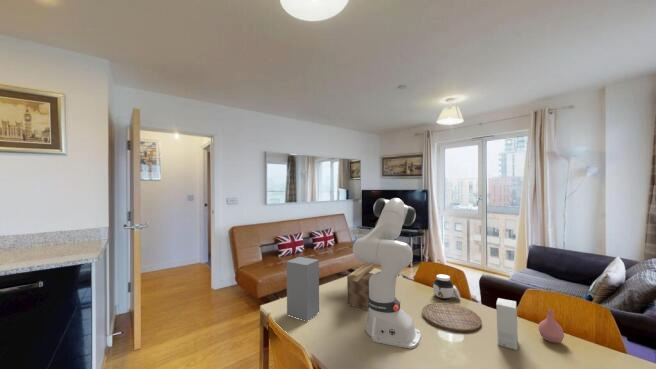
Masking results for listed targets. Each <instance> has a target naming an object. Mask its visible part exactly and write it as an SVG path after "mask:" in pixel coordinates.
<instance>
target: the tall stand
mask: <svg viewBox="0 0 656 369" xmlns="http://www.w3.org/2000/svg"><path fill="white" fill-rule="evenodd" d="M319 270H320V260H319V259H316V258H308V257H302V256H297V257H296V258H295V257H294V258H293V259H289V260H287V261H286V316H287V315H290V316H293V317H296V318H299V319H302V320H305V321H308V320H310V319H311V318H312V317H313V316H314V315H316V314H317V313H318V312H319V313H320V271H319ZM316 316H317V315H316ZM312 319H313V318H312ZM312 319H311V320H312ZM302 320H301V321H302ZM311 320H310V321H311ZM305 321H304V322H305Z"/></svg>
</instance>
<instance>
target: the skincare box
mask: <svg viewBox="0 0 656 369" xmlns="http://www.w3.org/2000/svg"><path fill="white" fill-rule="evenodd" d="M495 305H496V330H497V332H496V333H497V345H498V346H500V347H504V348H508V349H511V350H514V351H518V343H519V342H518V340H519V338H518V312H517V310H518V308H517V301H516V300H510V299H505V298H500V297H498V298H497V300H496V304H495Z"/></svg>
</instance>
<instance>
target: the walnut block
mask: <svg viewBox="0 0 656 369" xmlns="http://www.w3.org/2000/svg"><path fill="white" fill-rule="evenodd" d="M350 274H351V273H349V274H348V275H347V278H346V279H347V282H346V283H347V286H346V287H347V288H346V290H347V291H346V292H347V305H348V304H350V305H349V306H351V305H354V306H353V307H355V306H358V307H357V308H359V307H361V308H360V309H363V308H365V309H364V310H367V309H368V296H369V279H370V277H371V276H372V275H373V274H374V273H372V272H369V273H368V274H367V275H365V276H364V277H363V278H361V279H360V280H359V281H357V282H355V281H350ZM368 311H369V309H368Z"/></svg>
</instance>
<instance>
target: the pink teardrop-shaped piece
mask: <svg viewBox="0 0 656 369" xmlns="http://www.w3.org/2000/svg"><path fill="white" fill-rule="evenodd" d="M538 331H539V334H540V335H539V336H541V337H542V338H543V339H545V340H547V341H548V342H549V343H561V342H563V340H564V338H565V333H564V329H563V327H562V326H561V325H560V324H559V323H558V322H557V321H556V319H555V317H554V310H553V309H550V308H548V309H547V316H546V318H545V319H543V320H542V321H540V322H539V324H538Z"/></svg>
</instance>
